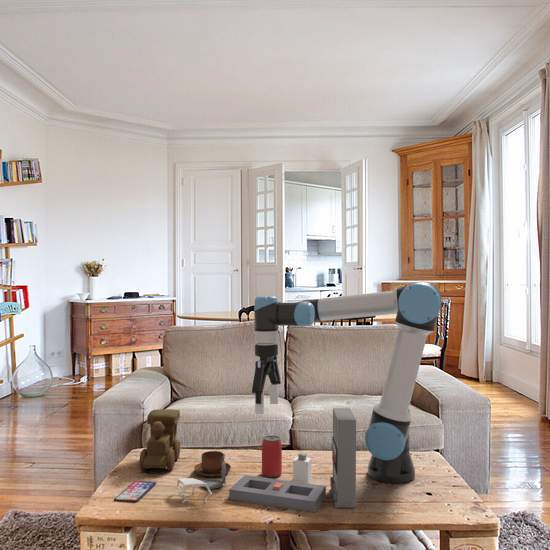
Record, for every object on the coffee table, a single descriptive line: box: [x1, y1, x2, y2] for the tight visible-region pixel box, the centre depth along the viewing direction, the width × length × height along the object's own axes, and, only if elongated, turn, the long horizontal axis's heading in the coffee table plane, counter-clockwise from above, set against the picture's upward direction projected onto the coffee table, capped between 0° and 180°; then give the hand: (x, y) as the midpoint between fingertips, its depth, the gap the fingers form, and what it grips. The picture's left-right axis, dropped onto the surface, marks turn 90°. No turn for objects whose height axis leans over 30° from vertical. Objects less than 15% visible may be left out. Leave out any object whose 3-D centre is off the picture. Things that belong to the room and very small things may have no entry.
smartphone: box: [113, 480, 157, 504], centre depth 170 cm, size 8×1×15 cm
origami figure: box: [176, 477, 213, 503], centre depth 165 cm, size 12×8×5 cm
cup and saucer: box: [193, 450, 232, 478], centre depth 186 cm, size 12×12×6 cm
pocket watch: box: [201, 452, 227, 490], centre depth 175 cm, size 8×8×10 cm
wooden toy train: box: [138, 408, 181, 472], centre depth 194 cm, size 20×11×17 cm, turn 0°
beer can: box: [261, 435, 283, 478], centre depth 184 cm, size 7×7×12 cm
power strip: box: [228, 474, 327, 513], centre depth 166 cm, size 26×12×4 cm, turn 71°
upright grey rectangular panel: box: [329, 407, 357, 509], centre depth 165 cm, size 14×6×25 cm, turn 0°
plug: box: [292, 452, 313, 484], centre depth 179 cm, size 5×4×8 cm
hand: (267, 408), depth 184 cm, fingers open, 13 cm apart
